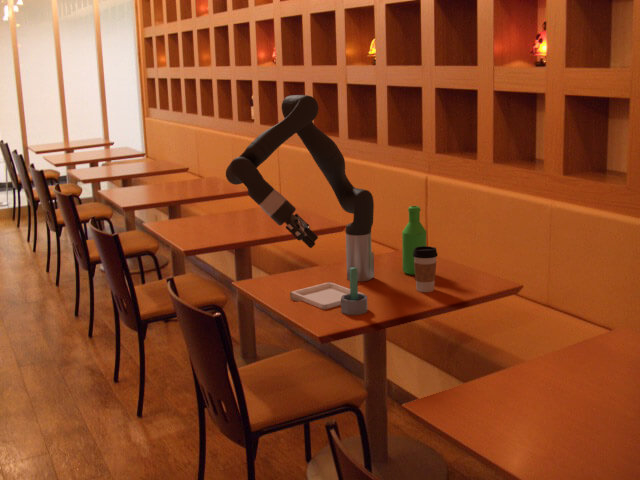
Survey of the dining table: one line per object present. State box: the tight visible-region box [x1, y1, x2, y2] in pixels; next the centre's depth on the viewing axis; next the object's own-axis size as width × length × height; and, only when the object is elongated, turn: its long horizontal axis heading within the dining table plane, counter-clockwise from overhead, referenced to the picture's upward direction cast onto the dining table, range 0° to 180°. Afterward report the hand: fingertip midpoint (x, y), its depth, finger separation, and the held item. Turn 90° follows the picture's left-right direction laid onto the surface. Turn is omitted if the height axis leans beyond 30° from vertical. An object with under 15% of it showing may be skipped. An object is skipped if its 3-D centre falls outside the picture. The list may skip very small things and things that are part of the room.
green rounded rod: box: [349, 267, 359, 300], centre depth 248 cm, size 2×2×14 cm
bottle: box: [401, 205, 427, 276], centre depth 290 cm, size 9×9×25 cm
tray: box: [289, 281, 366, 311], centre depth 264 cm, size 17×19×2 cm
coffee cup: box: [413, 245, 438, 293], centre depth 270 cm, size 8×8×15 cm
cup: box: [340, 292, 369, 316], centre depth 249 cm, size 8×8×6 cm
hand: (314, 242), depth 247 cm, fingers open, 8 cm apart
